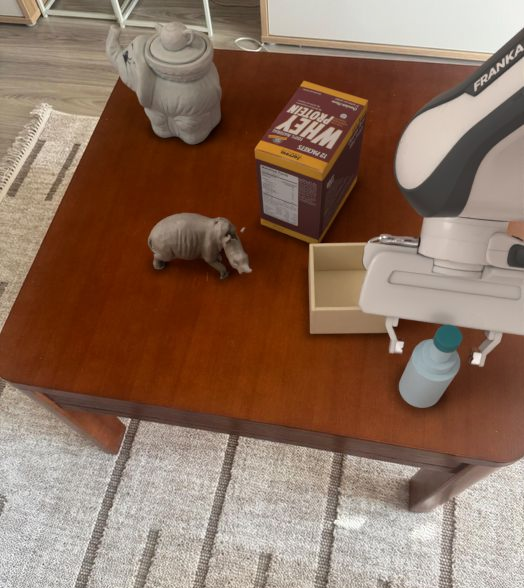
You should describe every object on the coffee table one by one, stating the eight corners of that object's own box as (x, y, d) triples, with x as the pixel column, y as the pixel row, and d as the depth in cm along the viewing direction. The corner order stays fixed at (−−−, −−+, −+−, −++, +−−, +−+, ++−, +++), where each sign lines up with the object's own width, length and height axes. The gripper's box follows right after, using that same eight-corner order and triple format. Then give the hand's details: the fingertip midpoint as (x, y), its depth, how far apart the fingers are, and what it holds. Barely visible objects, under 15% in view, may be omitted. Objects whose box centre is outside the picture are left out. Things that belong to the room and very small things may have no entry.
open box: (381, 269, 79) (388, 241, 74) (387, 332, 75) (395, 309, 69) (308, 270, 80) (309, 243, 74) (310, 333, 75) (311, 310, 69)
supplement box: (358, 180, 88) (370, 98, 74) (318, 247, 82) (323, 172, 68) (302, 161, 90) (303, 78, 76) (259, 224, 85) (253, 148, 71)
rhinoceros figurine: (149, 217, 83) (184, 175, 70) (223, 258, 89) (268, 226, 76) (131, 259, 80) (165, 223, 68) (209, 298, 86) (253, 272, 73)
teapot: (124, 111, 98) (89, 8, 82) (196, 82, 101) (176, -24, 84) (160, 166, 92) (129, 66, 75) (236, 133, 94) (223, 28, 77)
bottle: (438, 369, 72) (471, 313, 58) (444, 407, 69) (480, 358, 56) (396, 369, 72) (420, 313, 59) (401, 408, 69) (426, 359, 56)
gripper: (367, 234, 57) (347, 353, 62) (565, 258, 54) (530, 381, 59) (366, 229, 63) (348, 338, 67) (545, 250, 60) (514, 362, 65)
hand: (434, 358), depth 63 cm, fingers open, 8 cm apart
